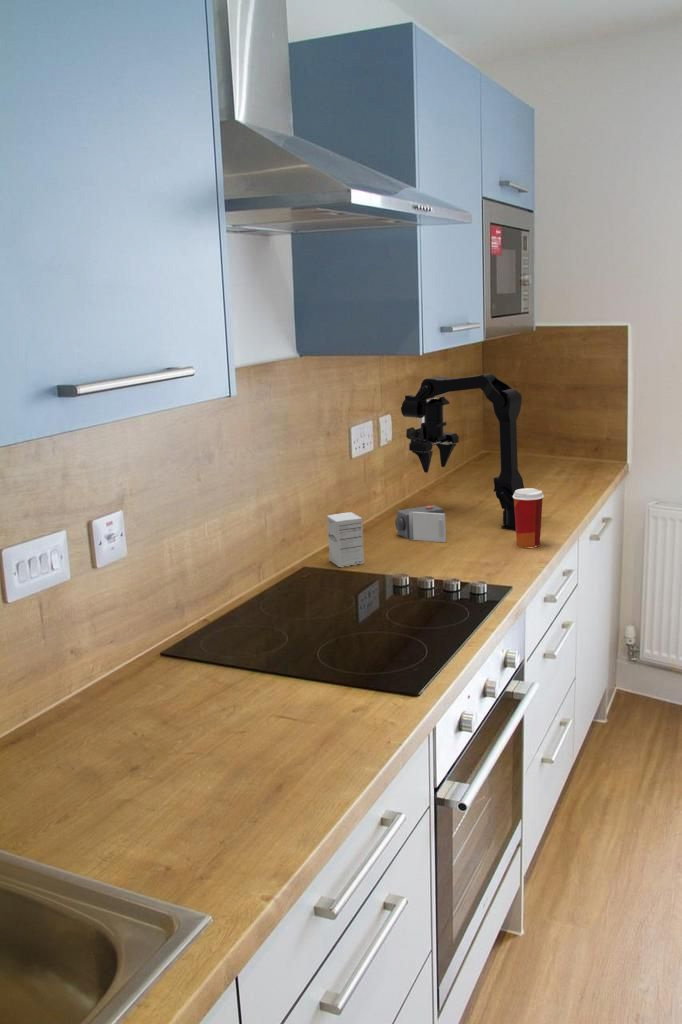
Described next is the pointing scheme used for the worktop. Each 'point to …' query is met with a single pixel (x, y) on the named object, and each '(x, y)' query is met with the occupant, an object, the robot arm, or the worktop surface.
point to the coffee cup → (528, 516)
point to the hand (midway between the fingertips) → (434, 469)
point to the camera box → (403, 518)
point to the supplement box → (345, 539)
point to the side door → (427, 526)
